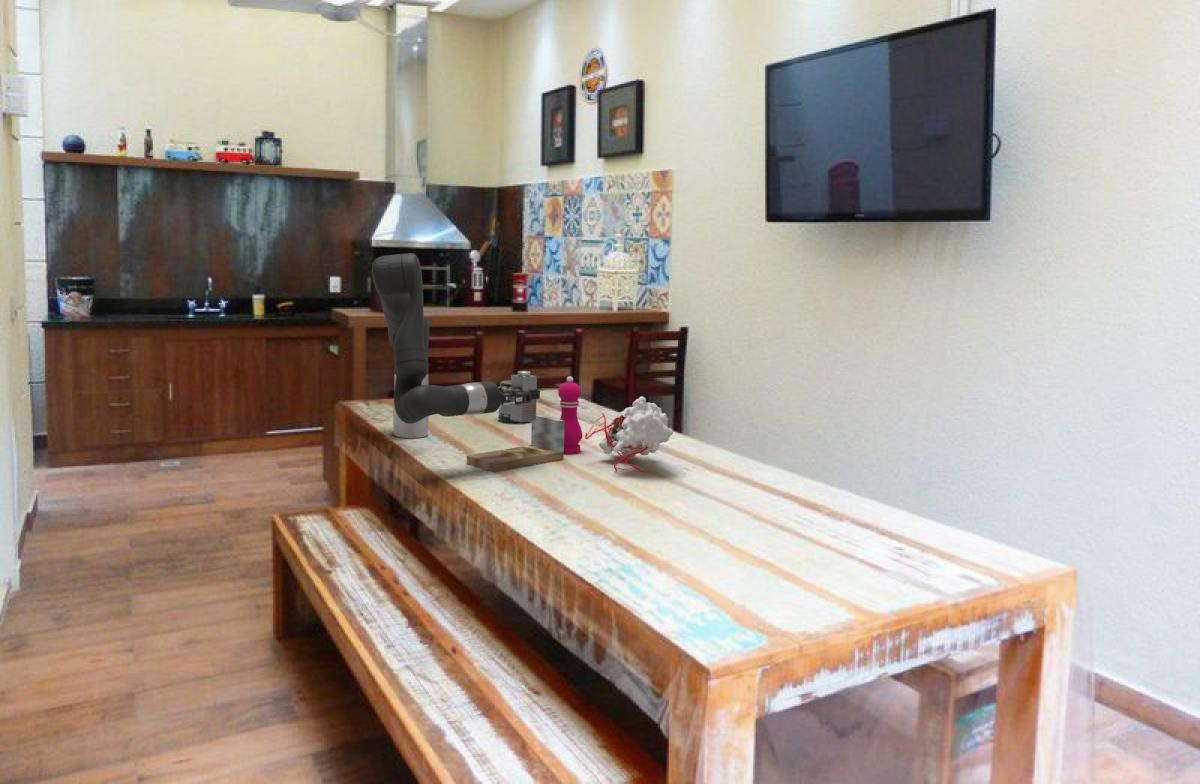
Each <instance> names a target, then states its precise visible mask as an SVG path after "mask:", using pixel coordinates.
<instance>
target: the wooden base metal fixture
mask: <svg viewBox="0 0 1200 784" xmlns="http://www.w3.org/2000/svg"><path fill="white" fill-rule="evenodd" d="M530 430H531V437H530V438H531V441H530V442H531V443H530V445H524V446H517V447H510V448H504V449H499V450H492V451H487V452H481V453H476V454H469V455H466V464H467V465H469V466H470V465H471V466H473V467H476V468H479V469H482V470H486V471H489V472H493V473H497V472H503V471H507V470H513V469H518V468H523V467H524V466H525V467H530V466H535V465H534V464H536V465H540V464H539V463H541V464H545V463H544V462H547V463H551V461H552V462H557V461H556V460H558V461H562V459H563V460H564V459H565V458H564V457H565V454H564V420H560V418H555V417H551V416H550V417H549V416H546V415H541V414H537V413H536V421H531V429H530ZM529 465H530V466H529Z"/></svg>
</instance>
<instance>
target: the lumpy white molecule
mask: <svg viewBox="0 0 1200 784" xmlns="http://www.w3.org/2000/svg"><path fill="white" fill-rule="evenodd" d="M646 401H647V399H646V397H644V396H639V398H636V399H635V400H634V401H633V402H632V406H629V407H626V408H625V409H623V410H622V411H620V412H618V413H617V415H616V417H614V418H613V419H612V420H611V422H609V423H607V419H606V415H605V413H604V412H602V413H601V414H602V415H601V416H600V418H598V419H596V420H595V422H598V421H599V420H601V419H602V418H603V421H604V422H603V423H601V424H600V425H598V426H599V427H601V426H603V425H604V426H603V427H602V428H600V429H598V428H595V429H594V431H592V430H593V427H594V424H592V426H591V427H590V429H589V430H588V432H585V435H584V439H585V440H588V439H590V438H591V437H592V436H593V435H594V434H597V433H599V432H604V433H605V435H604V436H605V437H604V438H603V439H602V440H601V441H600V442H599V445H598V446H599V448H600V449H601V450H602V451H603V454H608V455H609V454H612V452H613V453H617V455H618V456H619V457H620V459H618V460H617V461H615V462H614V464H613V469H614V470H615V472H617V471H618V470H617V469H619V470H623V471H627V472H629V469H625V468H620V467H616V466H617V464H623V465H628V466H629V467H632V468H634V469H632V470H631V471H632V472H635V471H638V472H639V471H640V472H641V473H642V472H644V470H643V469H642V468H640V467H638V466H635V465H634V464H631V463H629V462H628V461H631V459H633V458H635V457H636V456H637V455H638V454H639V455H640V456H648V455H649V454H650V453H651V454H654V453H656V452H657V451H658V450H659V449H660V444H663V443H667V442H668V441H670V437H671V436H672V435H673V434H674V431H673V429H672V428H670V427H669V425H668V424H669V423H668V422H669V418H668V416H667V414H666V413H665V412H662V411H663V410H662V408H661V407H659V406H658V405H657V404H656V403H655V402H652V403H651V402H646ZM597 429H598V430H597ZM591 431H592V432H591ZM590 432H591V433H590ZM589 433H590V434H589ZM622 461H624V462H622Z"/></svg>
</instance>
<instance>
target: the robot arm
mask: <svg viewBox="0 0 1200 784" xmlns="http://www.w3.org/2000/svg"><path fill="white" fill-rule="evenodd" d="M371 277H372V281H373V284H374V288H375V289H376V292H377V294H378V296H379V298H380V303H381V304H380V305H381V308H382V312H383V315H384V317H385V320H386V321H385V322H386V325H387V336H388V340H389V343H390V345H391V346H392V347H393V356H394V357H393V358H394V363H395V365H394V367H393V369H394V370H393V373H394V376H393V378H394V380H393V381H394V382H393V383H394V396H393V402H392V405H393V407H392V408H393V409H392V410H393V412H392V413H393V417H392V419H393V423H392V425H393V427H392V429H393V434H394V437H397V438H404V439H418V438H425V437H427V436H429V417H430V416H434V415H440V416H442V417H445V418H446V417H456V416H457V417H458V416H459V417H460V416H476V415H477V416H478V415H484V414H485V415H487V414H492V413H495V412H497V410H498V411H499V406H500V405H509V404H515V405H520V404H525V403H530V402H531V400H533V399H536V400H539V399H540V398H541V391H540V389H537V390H529V391H527V390H525V391H520V390H519V389H511V387H510V388H509V387H505V386H504V387H500V386H498V385H497V384H496V382H493V381H491V380H490V381H488V380H487V381H477V382H468V383H467V382H466V383H463V384H455V385H447V386H443V385H436V384H429V345H430V344H429V342H430V323H429V320H428V318H427V317H426V316H424V287H423V273H422V267H421V262H420V259H419V257H418V256H417V255H416V254H415V253H412V252H409V253H398V254H390V255H381V256H379V257H377V258H375V259H374V260H373V262H372V266H371ZM514 392H516V394H515V393H514Z"/></svg>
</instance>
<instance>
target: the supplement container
mask: <svg viewBox="0 0 1200 784" xmlns="http://www.w3.org/2000/svg"><path fill="white" fill-rule="evenodd" d="M504 386H505V387H509V388H510V387H511V379H510V380H502V381H500V383H499V387H504ZM510 405H511V404H509V405H500V406H499V408H498V416H497V417H498V420H499V421H500V422H501V423H504V422H505V423H504V424H510V423H522V424H528V423H530V422H531V421H528V423H527V422H519V421H514V420H510Z"/></svg>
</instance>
